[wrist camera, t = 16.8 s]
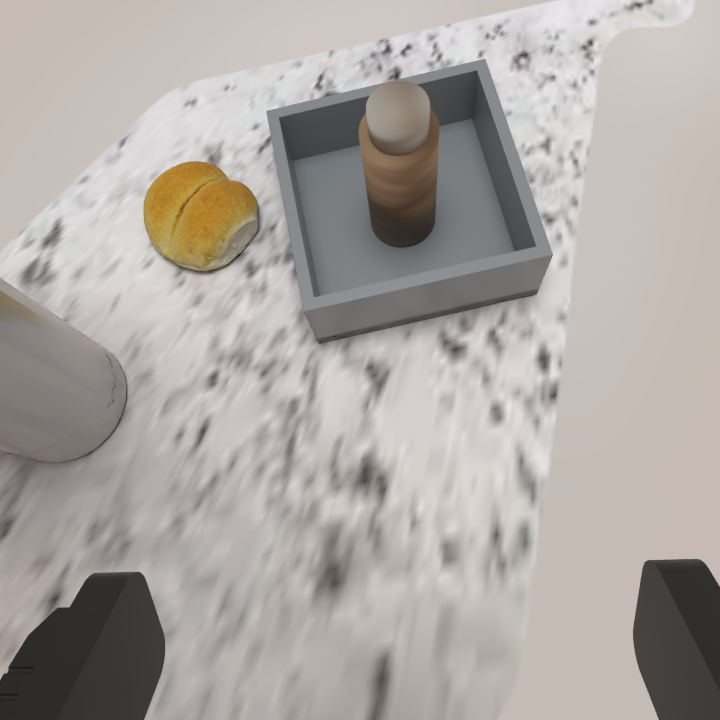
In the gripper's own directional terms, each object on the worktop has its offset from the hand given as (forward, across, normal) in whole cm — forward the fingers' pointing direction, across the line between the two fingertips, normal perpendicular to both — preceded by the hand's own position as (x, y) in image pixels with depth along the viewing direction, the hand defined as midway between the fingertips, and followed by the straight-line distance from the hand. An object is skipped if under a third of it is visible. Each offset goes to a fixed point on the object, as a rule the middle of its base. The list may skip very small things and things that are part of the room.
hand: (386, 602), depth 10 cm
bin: (+39, 0, +4) cm, 40 cm away
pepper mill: (+39, 0, +3) cm, 39 cm away
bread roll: (+41, +15, +3) cm, 44 cm away
